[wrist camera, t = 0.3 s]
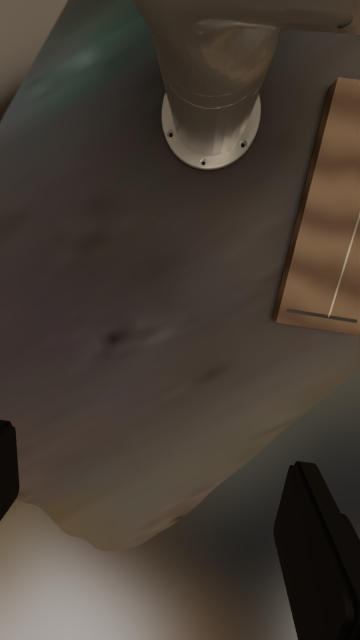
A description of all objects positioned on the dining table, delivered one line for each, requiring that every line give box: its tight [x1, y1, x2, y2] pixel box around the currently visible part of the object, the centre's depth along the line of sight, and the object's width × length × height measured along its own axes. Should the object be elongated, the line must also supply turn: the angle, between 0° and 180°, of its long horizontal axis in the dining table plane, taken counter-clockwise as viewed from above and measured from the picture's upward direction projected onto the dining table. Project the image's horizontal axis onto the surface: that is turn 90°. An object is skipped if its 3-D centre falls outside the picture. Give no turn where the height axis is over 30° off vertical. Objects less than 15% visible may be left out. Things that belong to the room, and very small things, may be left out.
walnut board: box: [272, 77, 360, 336], centre depth 39 cm, size 30×12×3 cm, turn 172°
